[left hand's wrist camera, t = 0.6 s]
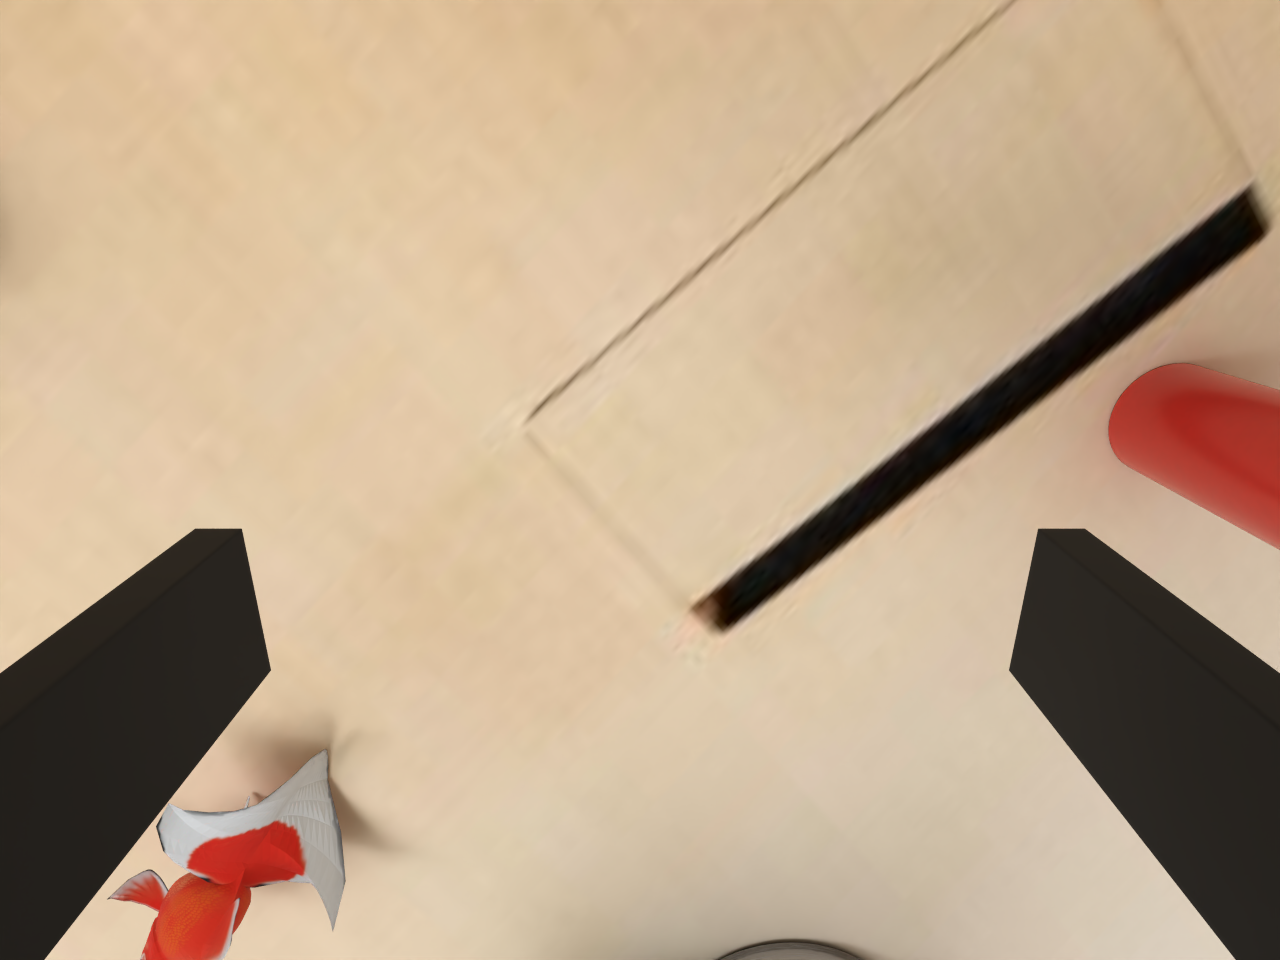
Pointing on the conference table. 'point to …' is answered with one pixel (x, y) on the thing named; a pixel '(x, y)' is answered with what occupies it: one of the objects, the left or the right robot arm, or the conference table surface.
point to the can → (1205, 442)
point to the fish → (239, 864)
